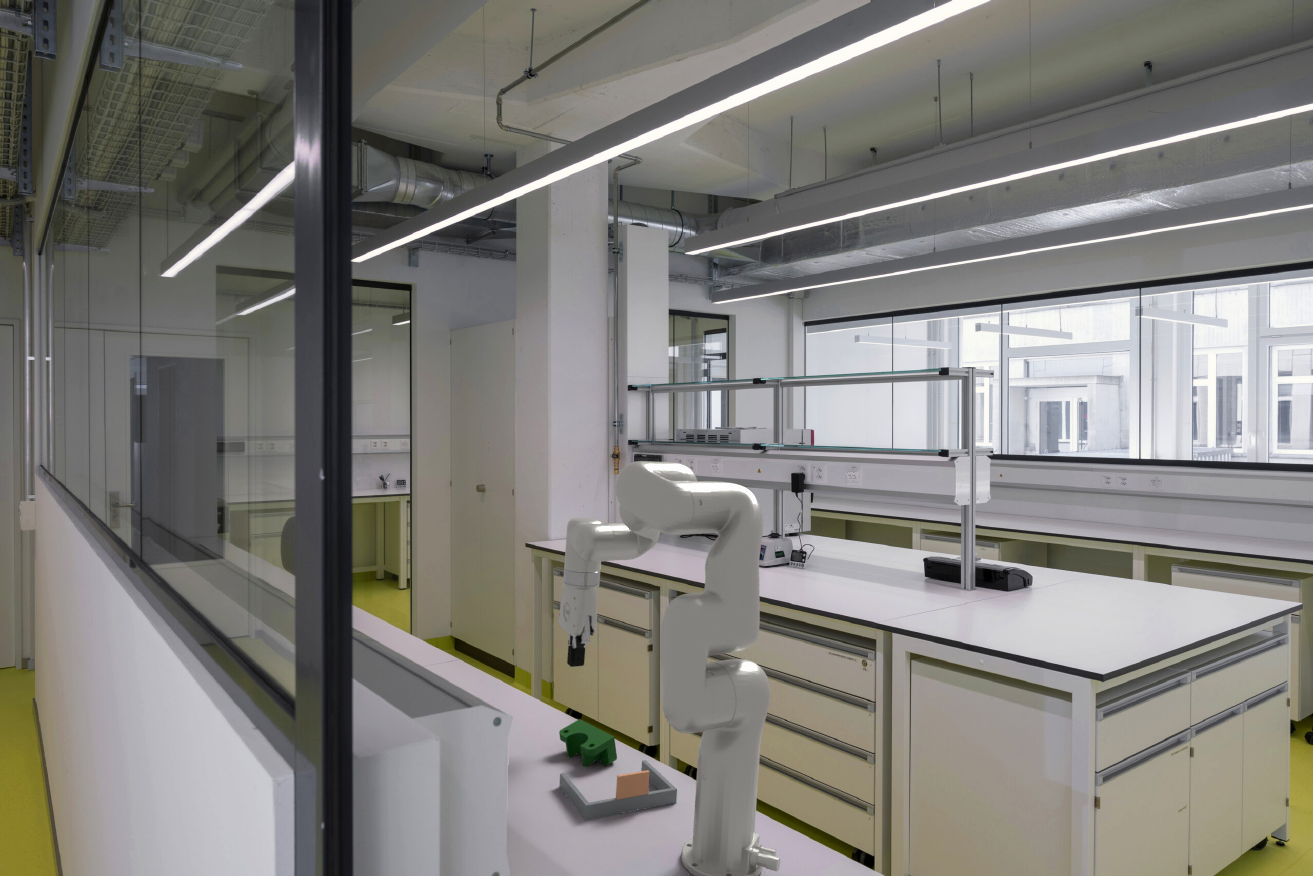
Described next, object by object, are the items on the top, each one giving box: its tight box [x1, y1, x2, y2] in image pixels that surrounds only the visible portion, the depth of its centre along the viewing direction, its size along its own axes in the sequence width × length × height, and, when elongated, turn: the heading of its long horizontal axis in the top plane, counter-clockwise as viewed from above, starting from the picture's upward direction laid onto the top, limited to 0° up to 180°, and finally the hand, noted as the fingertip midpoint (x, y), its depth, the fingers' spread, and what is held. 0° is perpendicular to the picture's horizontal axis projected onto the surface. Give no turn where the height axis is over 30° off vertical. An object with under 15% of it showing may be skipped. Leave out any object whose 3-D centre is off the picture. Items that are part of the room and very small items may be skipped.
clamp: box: [558, 718, 618, 768], centre depth 156 cm, size 12×6×9 cm, turn 38°
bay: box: [558, 759, 678, 821], centre depth 142 cm, size 13×18×6 cm
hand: (575, 665), depth 162 cm, fingers closed
